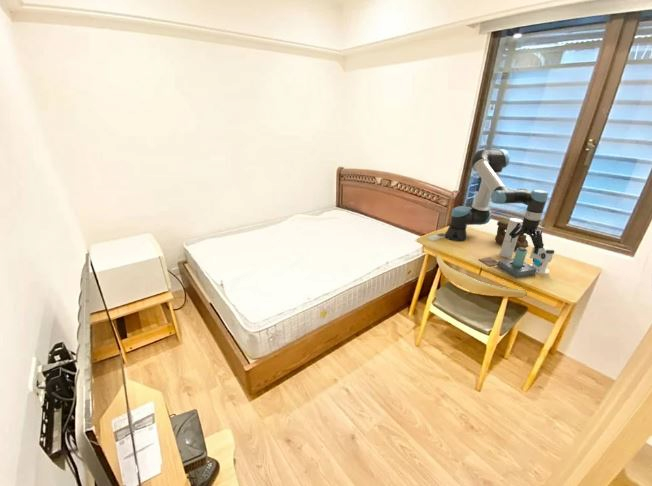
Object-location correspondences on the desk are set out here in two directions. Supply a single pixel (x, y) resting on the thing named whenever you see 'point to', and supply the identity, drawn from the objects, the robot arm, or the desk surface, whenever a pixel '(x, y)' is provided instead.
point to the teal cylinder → (519, 257)
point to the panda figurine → (542, 260)
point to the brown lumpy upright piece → (501, 233)
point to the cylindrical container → (509, 238)
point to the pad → (489, 261)
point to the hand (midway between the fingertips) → (521, 252)
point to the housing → (514, 271)
